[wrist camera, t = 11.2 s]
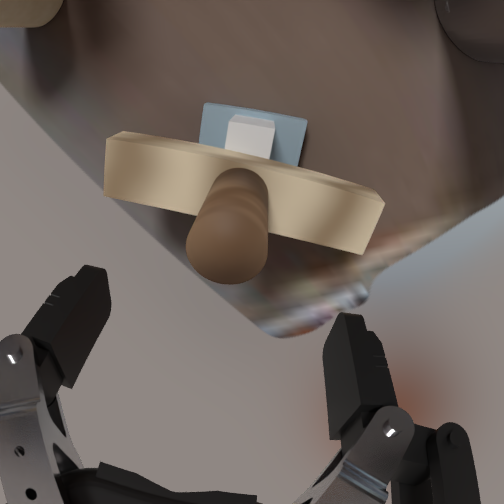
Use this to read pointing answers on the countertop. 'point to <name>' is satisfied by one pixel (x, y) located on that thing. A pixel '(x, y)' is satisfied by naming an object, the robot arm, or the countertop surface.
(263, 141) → the fulcrum block
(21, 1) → the candle
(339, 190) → the maple bar
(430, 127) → the countertop surface
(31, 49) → the countertop surface
